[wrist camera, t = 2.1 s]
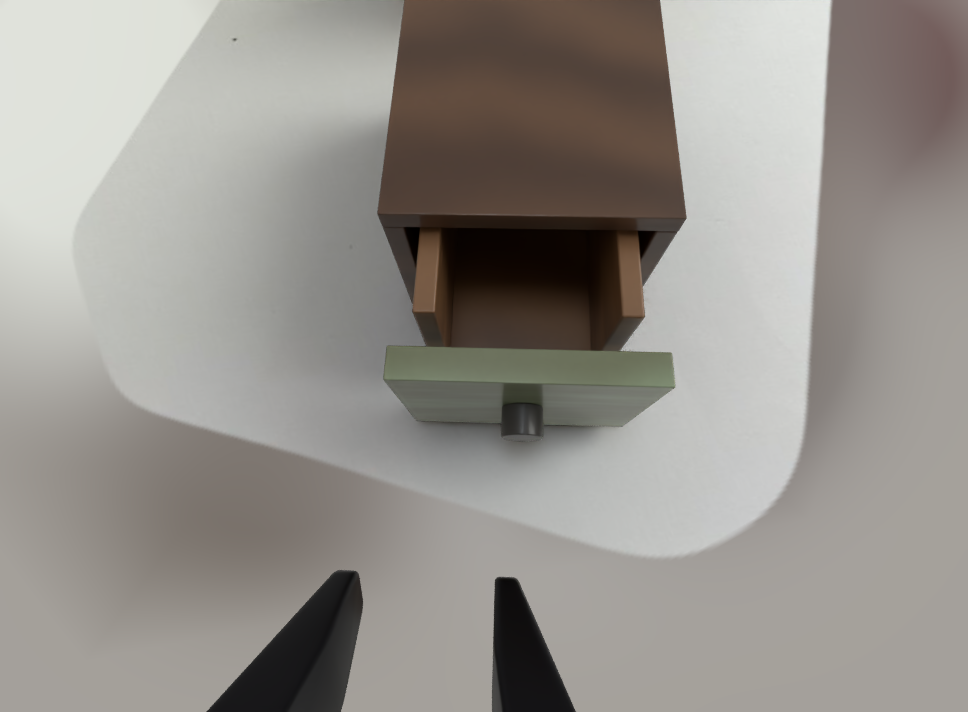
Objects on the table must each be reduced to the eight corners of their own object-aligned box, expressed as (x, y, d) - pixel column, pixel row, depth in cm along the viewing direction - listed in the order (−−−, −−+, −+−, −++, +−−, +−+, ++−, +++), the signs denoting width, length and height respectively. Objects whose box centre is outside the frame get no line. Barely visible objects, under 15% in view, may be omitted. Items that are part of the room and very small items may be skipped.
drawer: (623, 453, 21) (680, 425, 15) (413, 447, 21) (378, 416, 15) (608, 196, 26) (645, 88, 19) (434, 194, 26) (414, 86, 19)
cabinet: (623, 319, 24) (687, 218, 16) (416, 315, 25) (376, 213, 16) (609, 112, 29) (654, -50, 20) (434, 110, 29) (410, -49, 21)
